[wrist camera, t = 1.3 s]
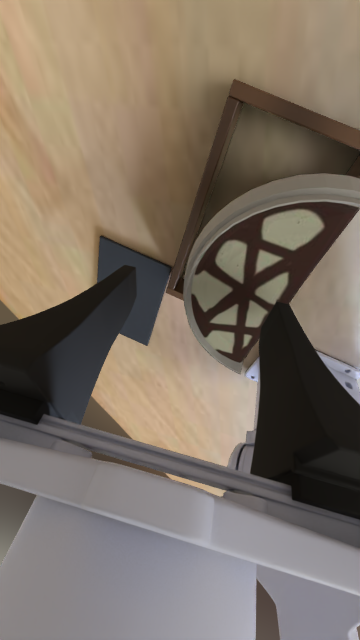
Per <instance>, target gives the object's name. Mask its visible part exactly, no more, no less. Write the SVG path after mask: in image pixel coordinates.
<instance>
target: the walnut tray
mask: <svg viewBox="0 0 360 640" xmlns="http://www.w3.org/2000/svg"><path fill="white" fill-rule="evenodd" d="M243 102H244V103H246V104H249V105H251V106H253V107H256V108H258V109H261V110H263V111H265V112H268V113H270V114H273V115H275V116H278V117H280V118H282V119H285V120H287V121H290V122H292V123H294V124H297V125H299V126H302V127H304V128H307V129H309V130H311V131H314V132H316V133H319V134H321V135H323V136H326V137H328V138H331V139H333V140H336V141H338V142H340V143H343V144H345V145H348V146H350V147H352V148H355V149H357V150H360V130H357V129H355V128H352V127H350V126H347V125H345V124H343V123H340V122H338V121H335V120H333V119H330V118H328V117H326V116H323V115H321V114H318V113H316V112H313V111H311V110H309V109H306V108H304V107H301V106H299V105H296V104H294V103H291V102H289V101H287V100H284V99H282V98H279V97H277V96H274V95H272V94H270V93H267V92H265V91H262V90H260V89H257V88H255V87H253V86H250V85H248V84H245V83H243V82H240V81H238V80H235V79H234V80H233V83H232V86H231V89H230V92H229V97H228V98H227V102H226V105H225V108H224V111H223V114H222V117H221V120H220V124H219V127H218V130H217V133H216V136H215V139H214V142H213V146H212V149H211V152H210V155H209V158H208V161H207V164H206V168H205V171H204V174H203V177H202V180H201V183H200V186H199V190H198V193H197V196H196V199H195V202H194V205H193V208H192V212H191V215H190V218H189V221H188V224H187V227H186V230H185V234H184V237H183V240H182V243H181V246H180V249H179V252H178V256H177V259H176V262H175V265H174V268H173V271H172V274H171V278H170V281H169V284H168V287H167V290H166V293H168V294H170V295H172V296H175V297H177V298H179V299H181V300H183V301H184V297H183V290H184V279H183V278H182V275H183V272H184V270H185V267H186V264H187V261H188V258H189V255H190V253H191V250H192V247H193V244H194V242H195V239H196V236H197V233H198V230H199V228H200V225H201V222H202V219H203V216H204V214H205V211H206V208H207V205H208V202H209V200H210V197H211V194H212V191H213V188H214V186H215V183H216V180H217V177H218V174H219V172H220V169H221V166H222V163H223V160H224V158H225V155H226V152H227V149H228V146H229V144H230V141H231V138H232V135H233V132H234V130H235V127H236V124H237V121H238V119H239V116H240V113H241V110H242V107H243V105H244V103H243ZM346 176H352V177H356V178H359V179H360V155H359V156H358V158H357V159H356V161H355V162H354V164H353V165H352V166H351V168H350V169H349V171H348V172H347V174H346Z"/></svg>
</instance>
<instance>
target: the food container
mask: <svg viewBox="0 0 360 640" xmlns="http://www.w3.org/2000/svg"><path fill="white" fill-rule="evenodd" d="M359 209H360V179H359V178H356V177H352V176H346V175H336V174H325V173H321V174H307V175H297V176H292V177H288V178H283V179H279V180H275V181H272V182H269V183H267V184H264V185H262V186H259V187H257V188H254V189H252V190H250V191H248V192H247V193H245V194H243V195H241V196H240V197H238V198H236V199H235V200H233V201H232V202H230V203H229V204H228V205H227V206H225V207H224V208H223V209H222V210H220V211H219V212H218V213H217V214H216V215H215V216H214V217H213V218H212V219H211V220H210V222H209V223H208V224H207V225H206V226H205V227H204V229H203V230H202V232H201V233H200V235H199V236H198V238H197V240H196V241H195V243H194V246H193V248H192V250H191V253H190V255H189V259H188V263H187V267H186V272H185V278H184V290H183V297H184V306H185V310H186V315H187V319H188V322H189V325H190V327H191V329H192V332H193V334H194V336H195V337H196V339H197V340H198V341H199V343H200V344H201V346H202V347H203V348H204V349H205V350H206V351H207V352H208V353H209V354H210V355H211V356H212V357H213V358H214V359H216V360H217V361H218V362H219V363H221V364H222V365H224V366H225V367H227V368H229V369H230V370H232V371H234V372H236V373H238V374H241V370H242V364H243V360H244V358H246V357H247V355H248V353H249V351H250V350H251V348H252V347H253V346H254V345H255V343H256V342H257V341H258V340H259V338H260V332H261V327H262V325H263V323H264V322H265V320H266V318H267V317H268V315H269V313H270V312H271V310H272V308H273V307H274V305H275V303H276V301H277V302H281V303H285V304H289V303H290V301H291V300H292V298H293V297H294V296H295V294H296V293H297V291H298V290H299V288H300V287H301V286H302V284H303V283H304V281H305V280H306V279H307V277H308V276H309V275H310V273H311V272H312V271H313V269H314V268H315V266H316V265H317V264H318V263H319V261H320V260H321V259H322V257H323V256H324V255H325V253H326V252H327V251H328V250H329V248H330V247H331V246H332V244H333V243H334V242H335V240H336V239H337V238H338V237H339V235H340V234H341V233H342V231H343V230H344V229H345V228H346V226H347V225H348V224H349V222H350V221H351V220H352V218H353V217H354V216H355V215H356V213H357V212H358V211H359Z"/></svg>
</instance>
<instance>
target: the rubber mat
mask: <svg viewBox="0 0 360 640" xmlns="http://www.w3.org/2000/svg"><path fill="white" fill-rule="evenodd" d="M123 265H128V266H133V267H136V285H137V297H136V300H135V303H134V305H133V308H132V310H131V312H130V314H129V316H128V318H127V320H126V321H125V323H124V325H123V327H122V329H121V330H120V332H119V333H120V334H122V335H124V336H126V337H128V338H131V339H133V340H135V341H137V342H139V343H142V344H144V345H146V346H147V345H148V342H149V339H150V336H151V333H152V329H153V326H154V323H155V320H156V317H157V313H158V310H159V307H160V304H161V301H162V297H163V294H164V291H165V288H166V284H167V281H168V278H169V275H170V272H171V268H172V267H171V266H168V265H166V264H164V263H162V262H159V261H157V260H155V259H153V258H150V257H148V256H146V255H144V254H141V253H139V252H137V251H135V250H132V249H130V248H128V247H126V246H123V245H121V244H119V243H117V242H114V241H112V240H110V239H108V238H105V237H103V236H100V244H99V261H98V278H97V283H99V282H100V281H102V280H103V279H105V278H106V277H107V276H109V275H110V274H112V273H113V272H115V271H116V270H117V269H119V268H120V267H122V266H123Z"/></svg>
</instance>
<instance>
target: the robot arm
mask: <svg viewBox="0 0 360 640" xmlns="http://www.w3.org/2000/svg"><path fill="white" fill-rule="evenodd" d="M136 297H137V285H136V267H133V266H128V265H123V266H122V267H120V268H119V269H117V270H116V271H115V272H113V273H112V274H110V275H109V276H107V277H106V278H105V279H103V280H102V281H100V282H99V283H97V284H96V285H94V286H93V287H91V288H89V289H88V290H86V291H84V292H83V293H81V294H79V295H77V296H76V297H74V298H72V299H70V300H68V301H66V302H64V303H62V304H59V305H57V306H55V307H52V308H50V309H47V310H45V311H42V312H40V313H38V314H35V315H32V316H29V317H26V318H23V319H20V320H17V321H14V322H10V323H7V324H3V325H0V483H1V484H4V485H8V486H11V487H14V488H18V489H21V490H24V491H27V492H30V493H33V494H36V495H37V496H36V498H35V500H34V502H33V504H32V506H31V508H30V510H29V512H28V514H27V516H26V518H25V519H24V521H23V523H22V525H21V527H20V529H19V531H18V533H17V535H16V537H15V539H14V541H13V543H12V545H11V546H10V548H9V551H8V552H7V554H6V556H5V558H4V560H3V562H2V564H1V566H0V640H255V638H256V578H257V579H258V580H259V582H260V583H261V584H262V586H263V587H264V588H265V589H266V591H267V592H268V593H269V595H270V596H271V598H272V599H273V601H274V602H275V604H276V607H277V616H278V624H279V633H280V640H359V638H358V633H357V628H356V627H357V626H359V625H360V391H359V387H358V384H357V381H356V380H357V379H358V378H360V370H358V369H356V368H354V367H352V366H349V365H347V364H345V363H343V362H340V361H338V360H336V359H334V358H332V357H329V356H327V355H325V354H323V353H320V352H318V351H316V350H315V349H314V348H313V346H312V344H311V343H310V341H309V340H308V338H307V336H306V334H305V333H304V331H303V329H302V327H301V326H300V324H299V322H298V320H297V318H296V316H295V315H294V313H293V311H292V309H291V307H290V305H289V304H285V303H281V302H277V301H276V303H275V305H274V307H273V308H272V310H271V312H270V313H269V315H268V317H267V318H266V320H265V322H264V323H263V325H262V327H261V332H260V340H259V357H258V359H257V360H256V361H255V362H254V363H253V364H252V365H251V366H250V368H249V369H248V370H247V371H246V372H245V376H246V377H247V378H249V379H251V380H254V381H256V382H258V384H257V397H256V409H255V421H254V431H247V434H246V443H239V444H238V445H237V446H236V447H235V449H234V450H233V452H232V454H231V456H230V458H229V461H228V466H227V467H225V466H221V465H218V464H214V463H211V462H207V461H204V460H201V459H197V458H194V457H190V456H187V455H183V454H180V453H176V452H173V451H170V450H166V449H163V448H159V447H156V446H152V445H149V444H145V443H142V442H139V441H135V440H132V439H128V438H125V437H121V436H118V435H114V434H111V433H108V432H104V431H100V430H97V429H94V428H90V427H87V426H83V425H81V422H82V419H83V416H84V413H85V410H86V407H87V405H88V402H89V399H90V396H91V394H92V391H93V389H94V386H95V383H96V381H97V378H98V376H99V373H100V371H101V369H102V366H103V364H104V361H105V359H106V357H107V355H108V352H109V350H110V348H111V346H112V344H113V343H114V341H115V339H116V337H117V336H118V334H119V332H120V330H121V329H122V327H123V325H124V323H125V321H126V320H127V318H128V316H129V314H130V312H131V310H132V308H133V305H134V303H135V300H136ZM346 369H349V370H346ZM80 447H81V448H80ZM82 448H84V449H82ZM85 449H87V450H91V451H94V452H98V453H101V454H104V455H108V456H111V457H115V458H118V459H122V460H125V461H128V462H131V463H135V464H138V465H142V466H145V467H148V468H152V469H155V470H158V471H162V472H165V473H168V474H172V475H175V476H179V477H182V478H185V479H189V480H192V481H195V482H199V483H202V484H206V485H209V486H212V487H216V488H219V489H222V490H226V491H227V492H225V493H224V495H223V496H222V497H219V496H216V495H214V494H211V493H209V492H207V491H205V490H203V489H200V488H197V487H194V486H191V485H188V484H185V483H181V482H178V481H175V480H171V479H168V478H165V477H161V476H158V475H155V474H151V473H147V472H144V471H141V470H138V469H134V468H131V467H127V466H124V465H120V464H116V463H112V462H104V461H100V460H95V459H93V458H92V453H91V452H90V451H87V450H85Z"/></svg>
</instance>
